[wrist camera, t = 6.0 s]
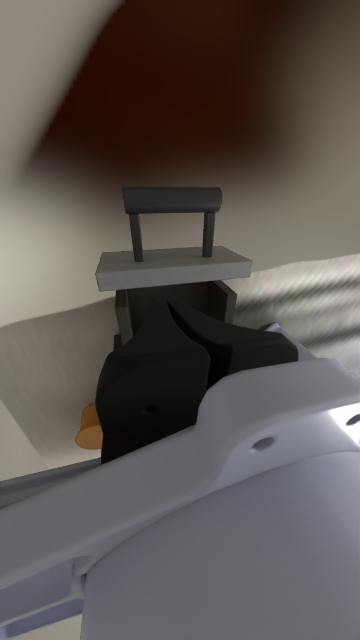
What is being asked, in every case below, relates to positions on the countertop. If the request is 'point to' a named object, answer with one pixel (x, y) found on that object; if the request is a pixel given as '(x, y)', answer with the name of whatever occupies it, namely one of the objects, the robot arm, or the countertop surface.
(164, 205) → the pod drawer
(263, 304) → the countertop surface
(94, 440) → the cylinder
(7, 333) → the countertop surface
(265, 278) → the countertop surface
